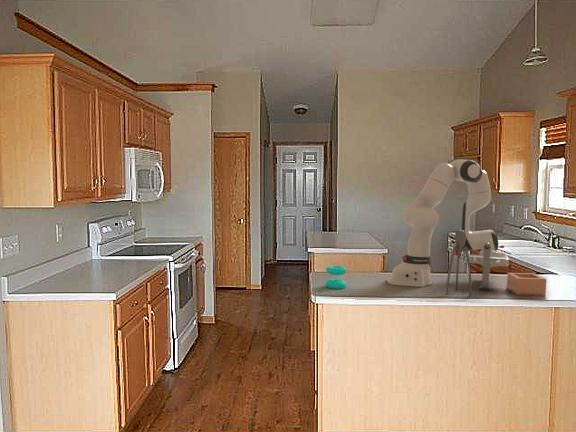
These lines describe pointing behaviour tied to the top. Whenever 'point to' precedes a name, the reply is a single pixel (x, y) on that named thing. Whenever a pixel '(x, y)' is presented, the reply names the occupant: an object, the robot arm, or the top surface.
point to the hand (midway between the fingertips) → (486, 262)
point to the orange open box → (526, 284)
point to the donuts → (336, 282)
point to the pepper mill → (486, 269)
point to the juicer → (460, 242)
